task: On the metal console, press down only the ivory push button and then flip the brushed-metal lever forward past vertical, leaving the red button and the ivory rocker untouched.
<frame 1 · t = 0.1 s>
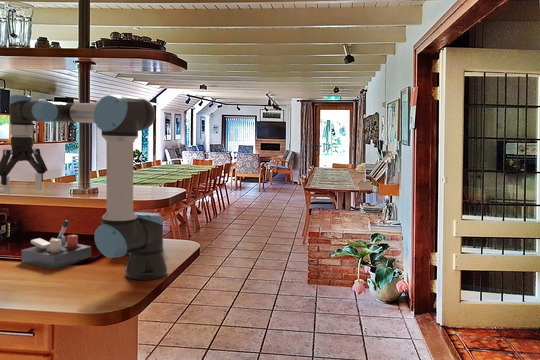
hand: (23, 191, 180), 28 cm above the worktop, fingers open, 13 cm apart
button red: (72, 242, 188), point 7 cm above the worktop, slide at 0.0 cm
rocker: (41, 243, 185), point 7 cm above the worktop, hinge at -10.0°
button ivory: (55, 246, 181), point 7 cm above the worktop, slide at 0.0 cm
supplement box: (126, 251, 204), on the worktop
console: (57, 260, 187), on the worktop
lever: (64, 227, 190), point 13 cm above the worktop, hinge at -30.0°
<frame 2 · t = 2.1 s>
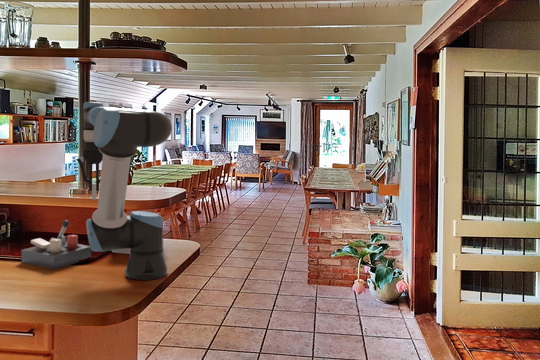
hand: (94, 199, 191), 24 cm above the worktop, fingers closed
nothing on the worktop moved.
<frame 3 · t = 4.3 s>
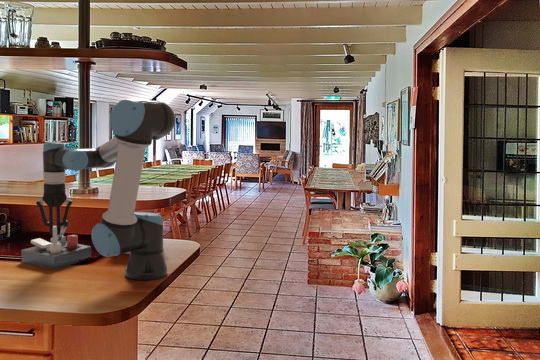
hand: (55, 243, 181), 8 cm above the worktop, fingers closed
button ivory: (55, 250, 181), point 6 cm above the worktop, slide at 1.5 cm, touching gripper
everything else where it was.
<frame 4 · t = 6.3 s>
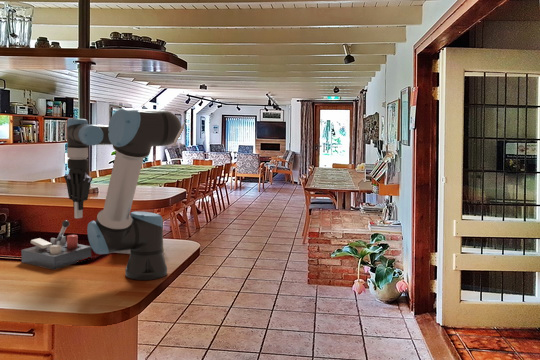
hand: (78, 217, 185), 18 cm above the worktop, fingers closed
button ivory: (55, 252, 182), point 5 cm above the worktop, slide at 2.4 cm
everything else where it was.
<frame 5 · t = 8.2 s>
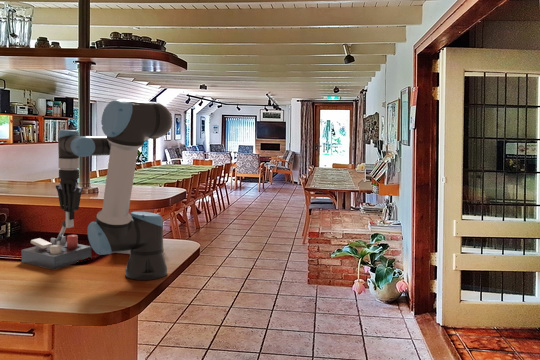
hand: (69, 227, 188), 13 cm above the worktop, fingers closed
lever: (64, 227, 190), point 13 cm above the worktop, hinge at -30.0°, touching gripper
everything else where it was.
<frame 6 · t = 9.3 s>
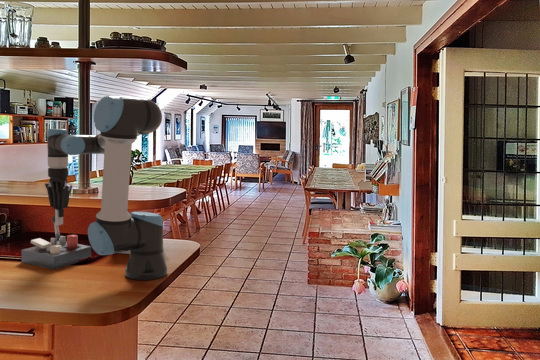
hand: (59, 224, 191), 13 cm above the worktop, fingers closed
lever: (56, 224, 192), point 13 cm above the worktop, hinge at 8.9°, touching gripper
everything else where it was.
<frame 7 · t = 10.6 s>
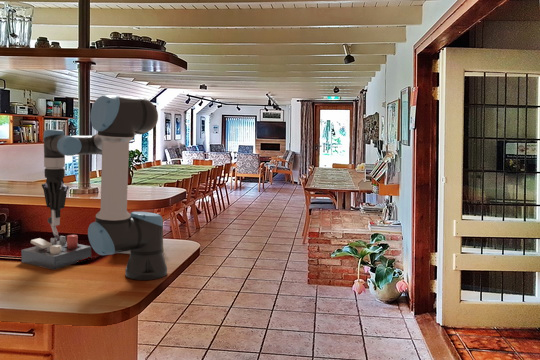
hand: (55, 225, 192), 13 cm above the worktop, fingers closed
lever: (52, 224, 192), point 13 cm above the worktop, hinge at 24.8°, touching gripper
everything else where it was.
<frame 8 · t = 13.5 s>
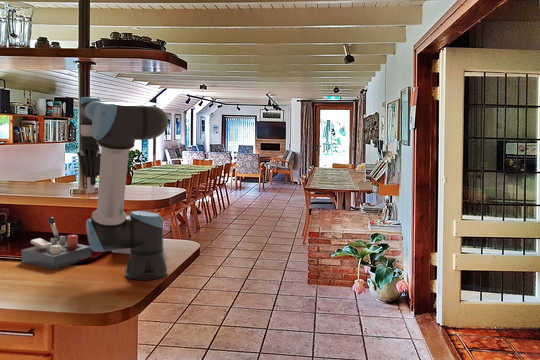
hand: (91, 192, 194), 26 cm above the worktop, fingers closed
lever: (52, 224, 192), point 13 cm above the worktop, hinge at 24.9°
everything else where it was.
at the end: button ivory slide at 2.4 cm; lever at +25° (first picture: -30°); button red slide at 0.0 cm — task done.
